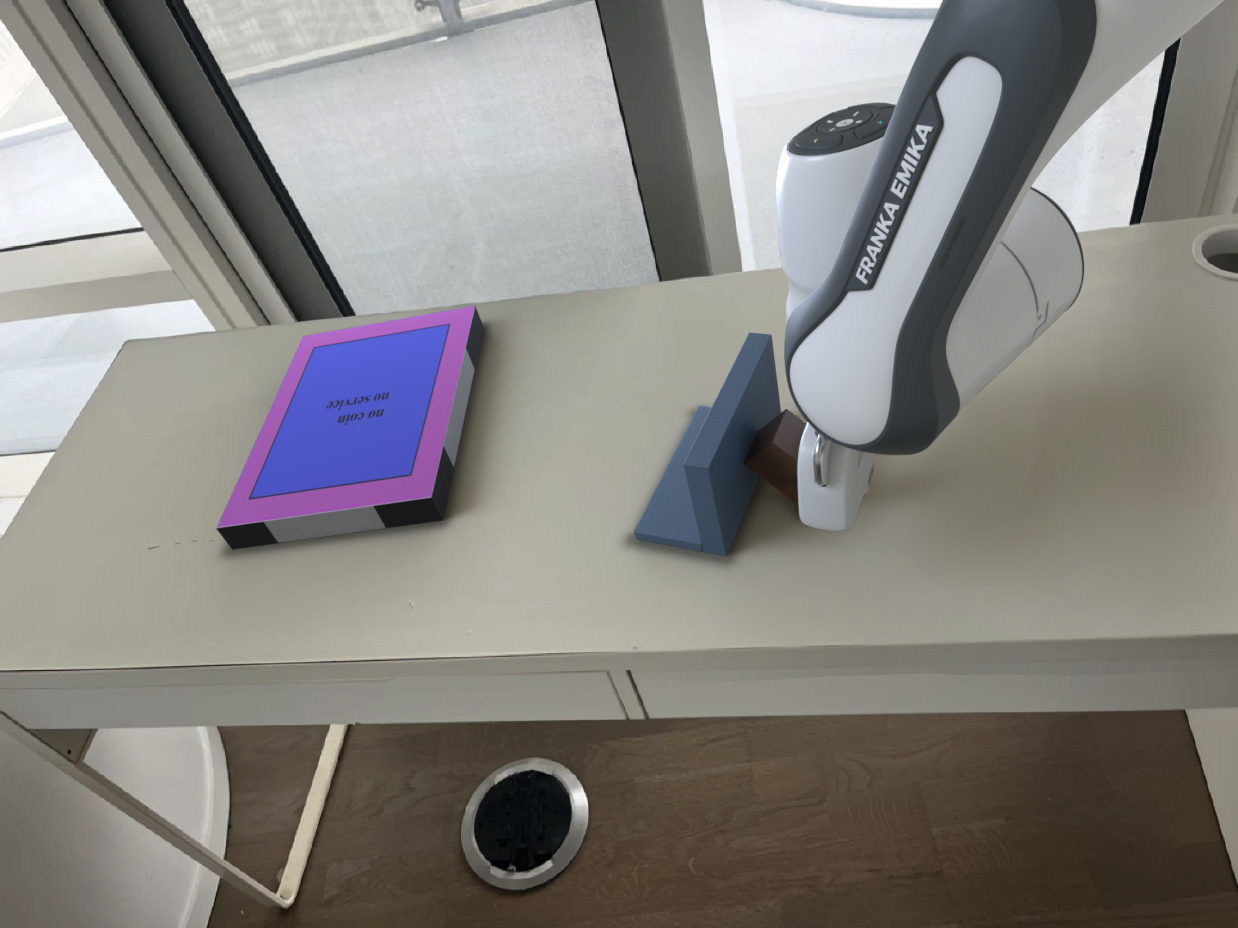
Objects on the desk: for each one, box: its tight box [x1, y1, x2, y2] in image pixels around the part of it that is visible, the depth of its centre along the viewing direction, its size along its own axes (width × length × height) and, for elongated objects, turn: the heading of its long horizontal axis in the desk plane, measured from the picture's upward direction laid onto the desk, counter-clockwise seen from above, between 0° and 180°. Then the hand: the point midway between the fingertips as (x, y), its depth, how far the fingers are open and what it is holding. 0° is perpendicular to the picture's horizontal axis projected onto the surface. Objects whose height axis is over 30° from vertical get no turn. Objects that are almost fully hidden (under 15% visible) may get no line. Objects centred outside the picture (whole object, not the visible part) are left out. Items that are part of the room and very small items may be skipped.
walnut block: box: [743, 408, 807, 507], centre depth 74 cm, size 7×4×7 cm, turn 67°
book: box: [215, 305, 484, 550], centre depth 94 cm, size 21×3×30 cm
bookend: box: [633, 332, 782, 557], centre depth 76 cm, size 8×16×10 cm, turn 157°
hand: (859, 481), depth 73 cm, fingers closed
